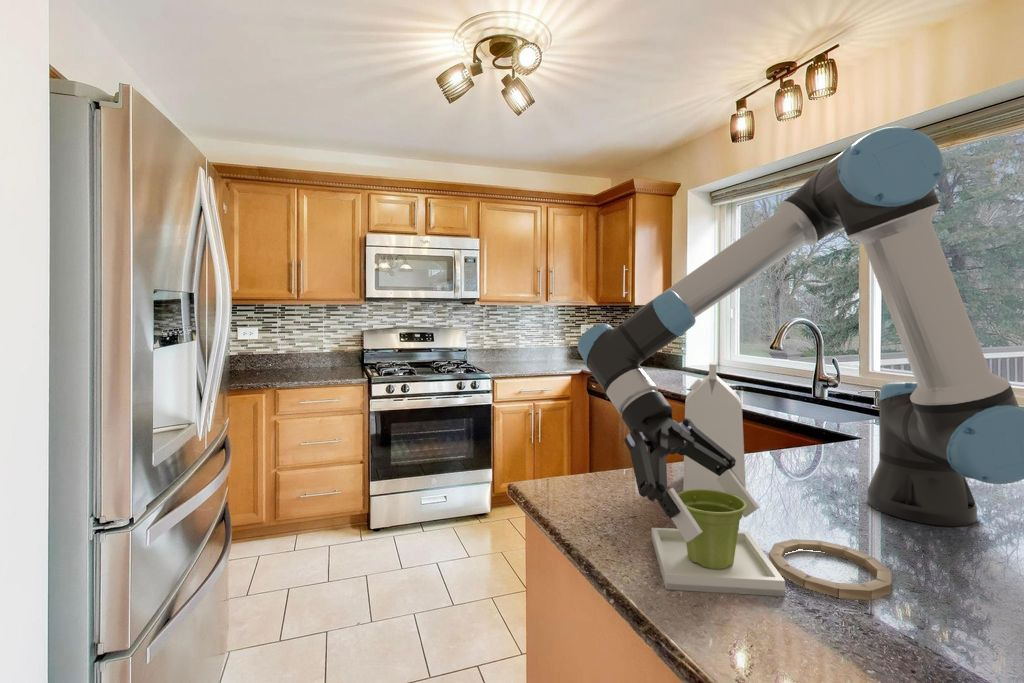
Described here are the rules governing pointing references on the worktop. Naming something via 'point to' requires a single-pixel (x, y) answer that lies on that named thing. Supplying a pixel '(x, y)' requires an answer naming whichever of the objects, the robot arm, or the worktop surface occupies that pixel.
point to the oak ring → (840, 590)
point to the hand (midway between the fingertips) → (725, 524)
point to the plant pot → (713, 526)
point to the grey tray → (741, 578)
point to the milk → (714, 428)
